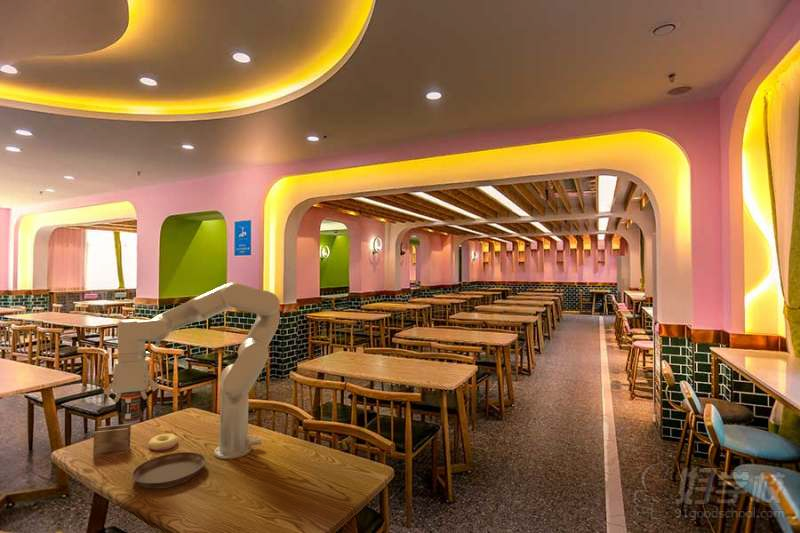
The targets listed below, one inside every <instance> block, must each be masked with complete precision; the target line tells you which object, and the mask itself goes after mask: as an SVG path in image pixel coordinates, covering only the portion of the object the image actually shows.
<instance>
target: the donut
mask: <svg viewBox="0 0 800 533" xmlns="http://www.w3.org/2000/svg"><path fill="white" fill-rule="evenodd" d="M178 441H179V438H178V436H177V435H175V434H173V433H161V434H158V435H156V436H153V437H152V438H151V439H150V440H149V441H148V447H149V449H151V450H152V451H156V452H159V451H166V450H169V449H172V448H174V447H175V446H176V445H177V444H178Z"/></svg>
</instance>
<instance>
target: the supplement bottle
mask: <svg viewBox="0 0 800 533" xmlns="http://www.w3.org/2000/svg"><path fill="white" fill-rule="evenodd" d="M141 400H142V395H141V393H140V391H139V392H127V393H122V394H121V413H120V420H121V421H122V422H125V423H129V422H134V421H138V420H139V419H141V418H143V412H142V411H141Z"/></svg>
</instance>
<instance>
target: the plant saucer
mask: <svg viewBox="0 0 800 533" xmlns="http://www.w3.org/2000/svg"><path fill="white" fill-rule="evenodd" d="M205 464H206V457H205V456H204V455H203V454H201V453H197V452H192V451H191V452H190V451H183V452H181V451H180V452H172V453H168V454H163V455H159V456H156V457H154V458H151V459H148V460H146V461H144V462H143V463H140V464H139V465H138V466H136V467H135V468H134V469H133V471H132V472H131V478H132V479H133V481H135V483H137V484H138V485H140V487H141V486H142V487H143V488H146V489H165V488H171V487H175V486H178V485H181V484H183V483H186V482H188V481H190V480H191V479H193V478H195V476H196V475H197V474H198V473H200V471H201V470H202V469H203V467H204V466H205Z"/></svg>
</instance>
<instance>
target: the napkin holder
mask: <svg viewBox="0 0 800 533" xmlns="http://www.w3.org/2000/svg"><path fill="white" fill-rule="evenodd" d="M131 428H132V426H131V423H127V424H126V423H124V424H116V425H107V426H98V427H97V430H96V431H94V432H93V451H92V452H93V454H92V455H93V458H98V457H105V456H106V457H107V456H114V455H115V456H116V455H121V454H123V455H124V454H128V453H129V451H130V448H131V435H132V434H131V430H132V429H131Z"/></svg>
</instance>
